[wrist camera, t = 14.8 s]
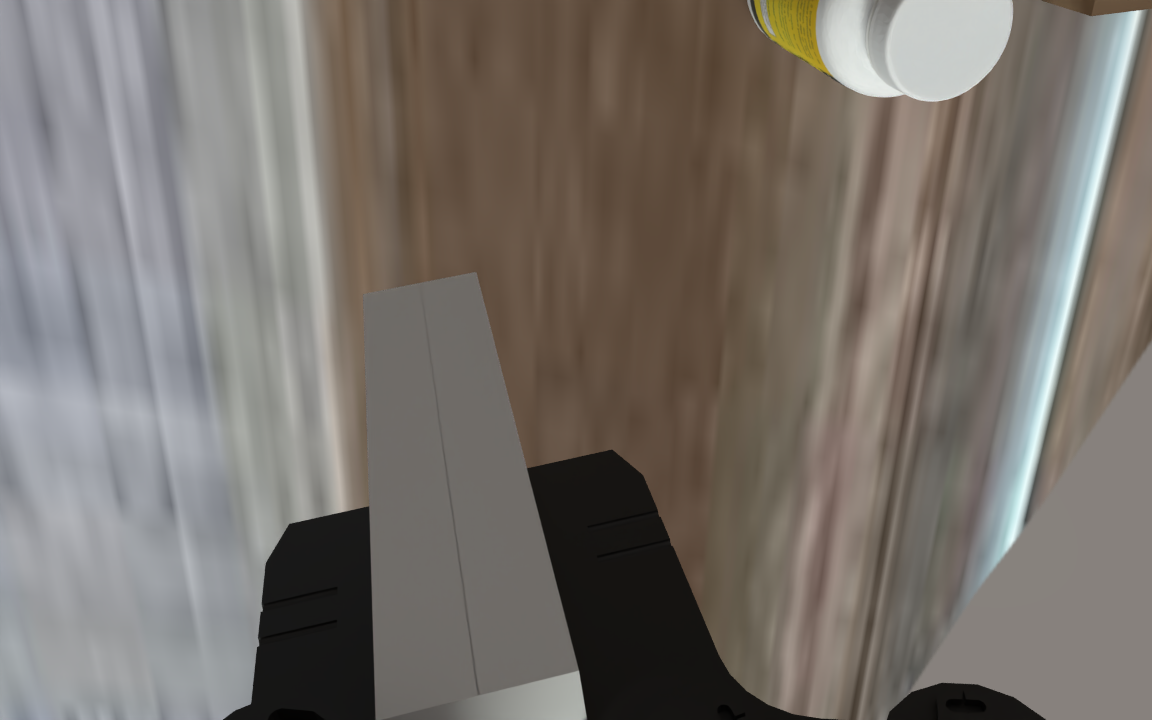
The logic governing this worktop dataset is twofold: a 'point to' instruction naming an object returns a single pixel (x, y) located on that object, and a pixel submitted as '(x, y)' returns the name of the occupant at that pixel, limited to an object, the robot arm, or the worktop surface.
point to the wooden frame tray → (1102, 6)
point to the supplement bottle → (892, 41)
